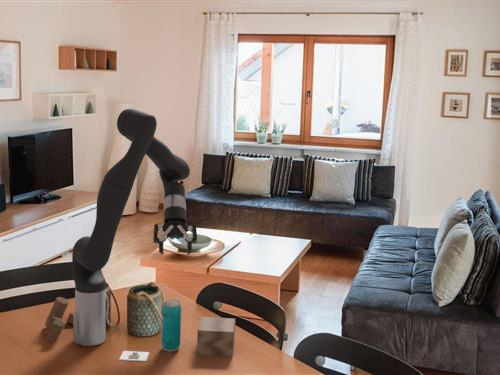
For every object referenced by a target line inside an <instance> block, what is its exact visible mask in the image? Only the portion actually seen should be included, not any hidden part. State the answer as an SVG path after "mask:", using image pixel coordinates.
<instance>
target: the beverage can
mask: <svg viewBox="0 0 500 375" xmlns="http://www.w3.org/2000/svg"><path fill="white" fill-rule="evenodd" d="M161 308H162V309H161V310H162V312H161V314H162V317H161V318H162V319H161V324H162V325H161V345H162V348H163V350H164V352H165V351H166V352H173V353H174V352H177V351H178V350H179V348H180V345H181V333H182V332H181V329H182V328H181V324H182V306H181V302H180V301H178V300H174V299H169V300H165V301H164V302H163V306H162V307H161Z"/></svg>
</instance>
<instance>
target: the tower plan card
mask: <svg viewBox="0 0 500 375" xmlns="http://www.w3.org/2000/svg"><path fill="white" fill-rule="evenodd" d="M149 355H150V351H133V350H123V351H122V352H121V355H120V356H119V358H118V361H125V362H127V361H128V362H129V361H130V362H145V363H146V362H147V361H148V357H149Z"/></svg>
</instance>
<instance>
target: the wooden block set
mask: <svg viewBox="0 0 500 375" xmlns="http://www.w3.org/2000/svg"><path fill="white" fill-rule="evenodd" d="M68 305H69V301H68V299H67V298H64V297H62V296H61V297H60V296H57V297H56V298H55V300H54V302H53V304H52V307H51V309H50V311H49V314H48V316H47V318H46V321H45V323H44V325H45V327H46V331H45V334H46V337H45V339H46V340H47V341H49V342H51V343H54V342H55V343H56V341H57V340H59V337H60V335H61V333H62V330H63V328H64V326H65V323H64V322H63V317H64V314H65V313H66V310H67V308H68ZM73 315H74V313H71V312H70V313H69V315H68V317H67V319H66V322H67V323H69V324H71V325H73Z"/></svg>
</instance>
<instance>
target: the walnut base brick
mask: <svg viewBox="0 0 500 375" xmlns="http://www.w3.org/2000/svg"><path fill="white" fill-rule="evenodd" d="M235 336H236V318H230V317H229V318H228V317H212V316H211V317H210V316H209V317H208V316H201V317H200V319H199V324H198V328H197V336H196V337H197V339H196V341H197V342H196V356H210V357H211V356H213V357H228V358H229V357H231V358H233V356H234V348H235V339H236V338H235Z"/></svg>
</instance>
